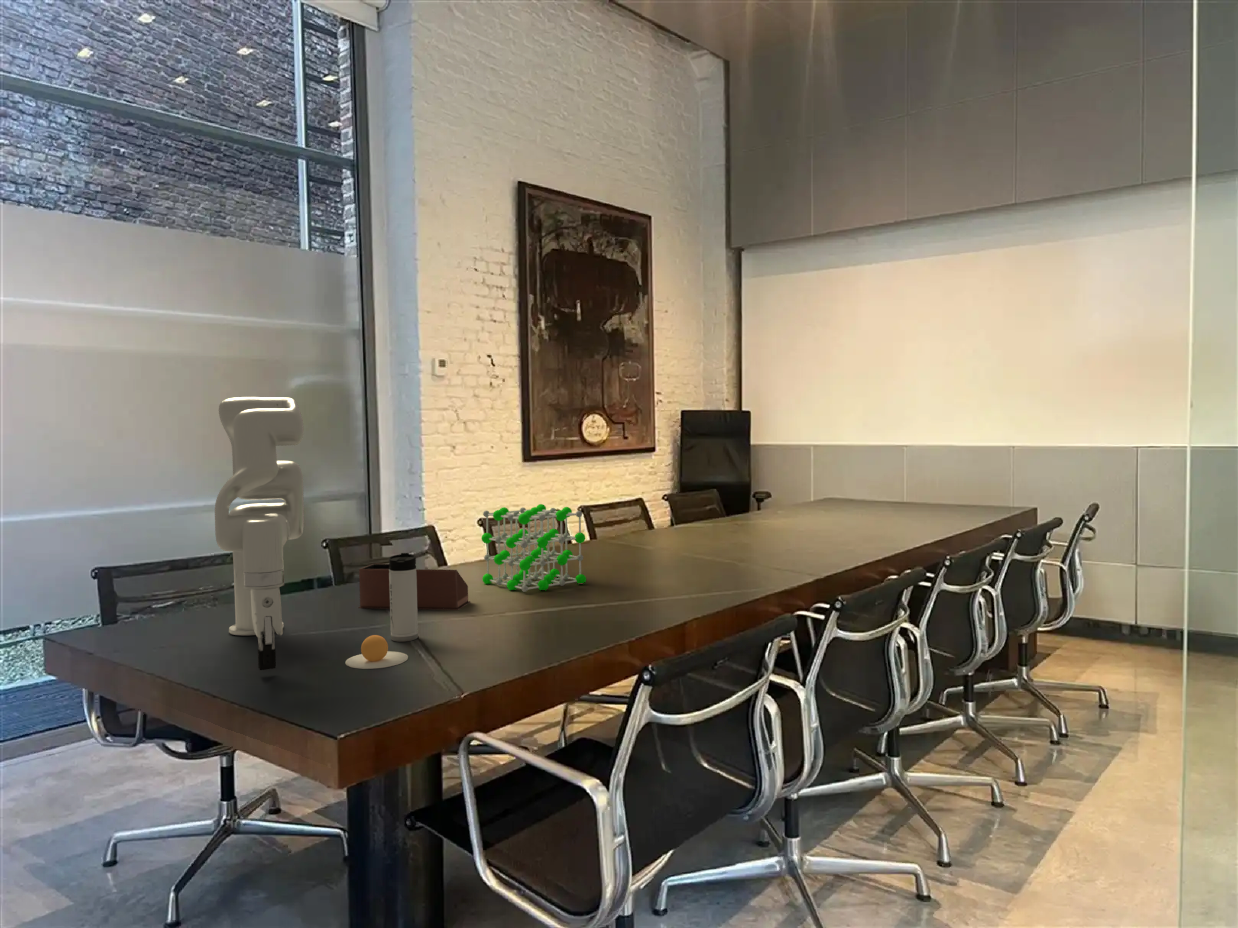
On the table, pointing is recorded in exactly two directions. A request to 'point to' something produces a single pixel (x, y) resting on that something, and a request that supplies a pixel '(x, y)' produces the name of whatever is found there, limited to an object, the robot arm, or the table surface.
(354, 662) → the disc
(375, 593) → the desk organizer
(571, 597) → the table surface
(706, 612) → the table surface
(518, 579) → the molecular structure model
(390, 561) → the travel mug
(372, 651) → the ball
